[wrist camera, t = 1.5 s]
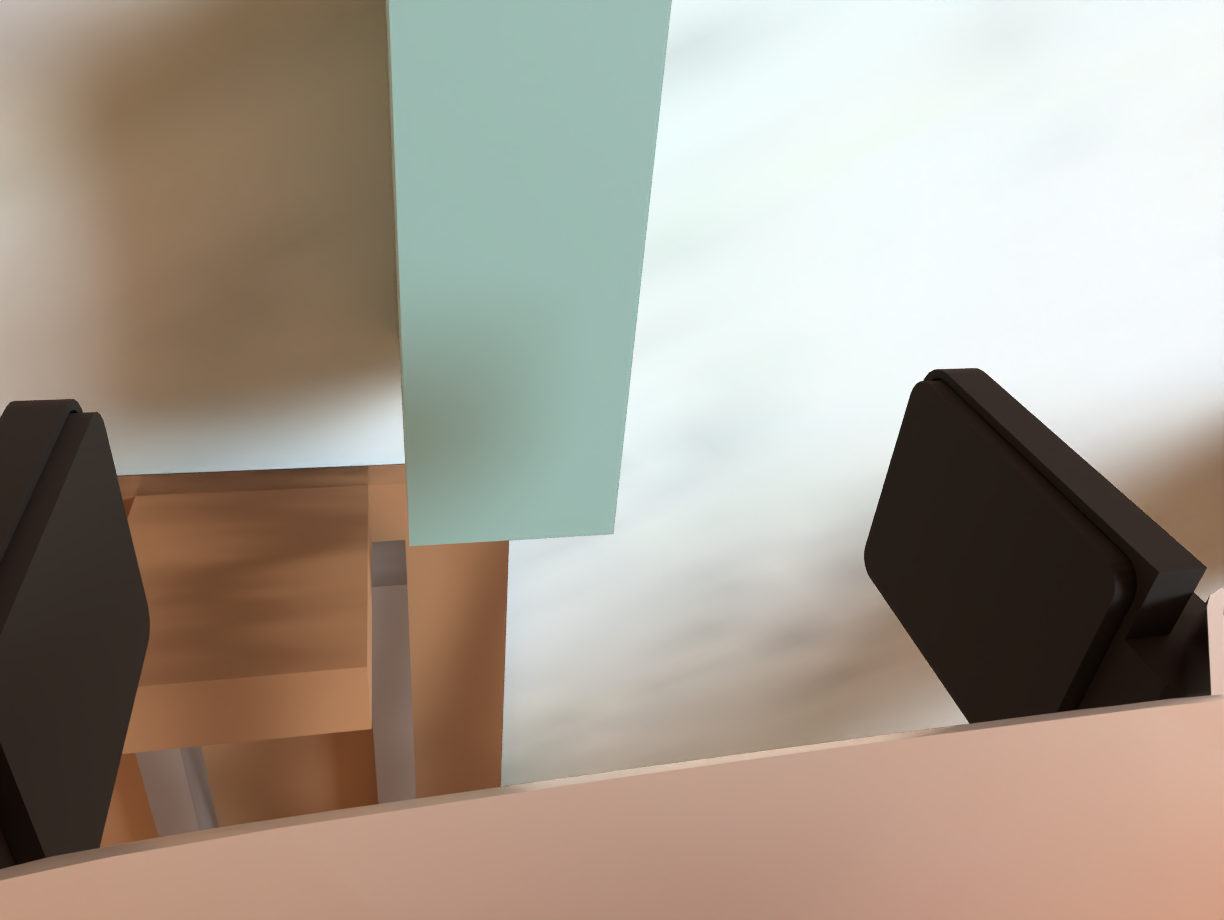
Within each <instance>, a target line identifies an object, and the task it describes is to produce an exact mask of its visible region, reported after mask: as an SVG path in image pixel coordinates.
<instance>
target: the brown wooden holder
mask: <svg viewBox="0 0 1224 920" xmlns="http://www.w3.org/2000/svg"><path fill="white" fill-rule="evenodd" d="M117 478H118V483H119V487H120V491H121V495H122V499H123V503H124V507H125V512H126V516H127V520H128V524H129V528H130V532H131V537H132V541H133V545H134V549H135V553H136V557H137V562H138V566H139V570H140V574H141V578H142V582H143V587H144V591H145V595H146V599H147V603H148V608H149V615H150V635H149V642H148V647H147V651H146V655H145V659H144V663H143V668H142V672H141V676H140V680H139V684H138V689H137V693H136V697H135V701H134V705H133V710H132V714H131V718H130V722H129V726H128V731H127V735H126V739H125V743H124V747H123V752H122V756H121V760H120V764H119V769H118V773H117V777H116V781H115V785H114V790H113V794H112V798H111V802H110V806H109V811H108V815H107V819H106V823H105V827H104V832H103V836H102V840H101V844H100V848H102V847H108V846H113V845H119V844H124V843H130V842H135V841H141V840H147V839H152V838H158V837H164V836H170V835H176V834H182V833H188V832H194V831H200V830H206V829H212V828H219V827H225V826H232V825H239V824H246V823H252V822H259V821H266V820H272V819H279V818H286V817H292V816H299V815H306V814H313V813H319V812H326V811H333V810H339V809H347V808H354V807H361V806H368V805H375V804H382V803H389V802H397V801H404V800H411V799H418V798H425V797H432V796H439V795H446V794H454V793H461V792H468V791H475V790H482V789H489V788H496V787H501V758H502V729H503V699H504V670H505V641H506V612H507V583H508V554H509V540H506V541H490V542H473V543H456V544H439V545H423V546H409V527H408V508H407V488H406V469H405V464H399V465H375V466H351V467H327V468H302V469H278V470H254V471H230V472H206V473H182V474H158V475H134V476H117Z"/></svg>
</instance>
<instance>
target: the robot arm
mask: <svg viewBox="0 0 1224 920" xmlns="http://www.w3.org/2000/svg"><path fill="white" fill-rule="evenodd" d="M864 561H865V567H866V570H867V573H868V575H869V577H870V578H871V580H872V581H873V583H874V584H875V586H876V587H877V589H878V590H879V592H880V593H881V594H882V596H883V597H884V599H885V600H886V602H887V603H888V605H889V606H890V608H891V609H892V611H893V612H894V613H895V615H896V616H897V618H898V619H899V621H900V622H901V624H902V625H903V627H904V628H905V630H906V631H907V632H908V634H909V635H910V637H911V638H912V640H913V641H914V643H915V644H916V646H917V647H918V649H919V650H920V652H921V653H922V654H923V656H924V657H925V659H926V660H927V662H928V663H929V665H930V666H931V668H932V669H933V671H934V672H935V673H936V675H937V676H938V678H939V679H940V681H941V682H942V684H943V685H944V687H945V688H946V690H947V691H948V692H949V694H950V695H951V697H952V698H953V700H954V701H955V703H956V704H957V706H958V707H959V709H960V710H961V712H962V713H963V714H964V716H965V717H966V719H967V720H968V722H969V723H970V724H964V725H956V726H949V727H941V728H933V729H925V730H918V731H910V732H902V733H894V734H886V735H879V736H871V737H864V738H856V739H849V740H841V741H834V742H826V743H819V744H811V745H804V746H796V747H789V748H781V749H774V750H766V751H759V752H751V753H744V754H736V755H729V756H722V757H714V758H707V759H699V760H692V761H685V762H677V763H670V764H663V765H655V766H648V767H640V768H633V769H626V770H618V771H611V772H604V773H596V774H589V775H582V776H575V777H568V778H561V779H553V780H546V781H539V782H532V783H525V784H518V785H511V786H504V787H496V788H489V789H482V790H475V791H468V792H461V793H454V794H446V795H439V796H432V797H425V798H418V799H411V800H404V801H397V802H389V803H382V804H375V805H368V806H361V807H354V808H347V809H339V810H333V811H326V812H319V813H313V814H306V815H299V816H292V817H286V818H279V819H272V820H266V821H259V822H252V823H246V824H239V825H232V826H225V827H219V828H212V829H206V830H200V831H194V832H188V833H182V834H176V835H170V836H164V837H158V838H152V839H147V840H141V841H135V842H130V843H124V844H119V845H113V846H108V847H102V848H100V844H101V840H102V836H103V832H104V827H105V823H106V819H107V815H108V811H109V806H110V802H111V798H112V794H113V790H114V785H115V781H116V777H117V773H118V769H119V764H120V760H121V756H122V752H123V747H124V743H125V739H126V735H127V731H128V726H129V722H130V718H131V714H132V710H133V705H134V701H135V697H136V693H137V689H138V684H139V680H140V676H141V672H142V668H143V663H144V659H145V655H146V651H147V647H148V642H149V635H150V615H149V608H148V603H147V599H146V595H145V591H144V587H143V582H142V578H141V574H140V570H139V566H138V562H137V557H136V553H135V549H134V545H133V541H132V537H131V532H130V528H129V524H128V520H127V516H126V512H125V507H124V503H123V499H122V495H121V491H120V487H119V483H118V478H117V474H116V470H115V466H114V462H113V458H112V453H111V449H110V445H109V441H108V437H107V433H106V428H105V425H104V422H103V419H102V417H101V415H100V414H99V413H98V412H89V413H83V411H82V409H81V407H80V405H79V403H78V402H77V401H76V400H75V399H63V400H33V401H13V402H10V403H9V405H8V406H7V407H6V409H5V410H4V412H3V414H2V416H1V417H0V920H1224V588H1220V589H1218V590H1217V591H1216V592H1214V593H1213V594H1211V595H1210V596H1209V598H1208V600H1207V602H1206V603H1205V602H1203V601H1202V600H1201V599H1200V598H1199V597H1198V596H1197V595H1196V594H1195V593H1194V590H1195V588H1196V587H1197V585H1198V583H1199V581H1200V579H1201V578H1202V576H1203V574H1204V572H1205V570H1206V569H1207V567H1206V566H1204V565H1203V564H1202V563H1201V562H1200V561H1199V560H1198V559H1196V558H1195V557H1194V556H1193V555H1192V554H1191V553H1190V552H1189V551H1187V550H1186V549H1185V548H1184V547H1183V546H1182V545H1181V544H1179V543H1178V542H1177V541H1176V540H1175V539H1174V538H1173V537H1171V536H1170V535H1169V534H1168V533H1167V532H1166V531H1165V530H1164V529H1162V528H1161V527H1160V526H1159V525H1158V524H1157V523H1156V522H1154V521H1153V520H1152V519H1151V518H1150V517H1149V516H1148V515H1146V514H1145V513H1144V512H1143V511H1142V510H1141V509H1140V508H1138V507H1137V506H1136V505H1135V504H1134V503H1133V502H1132V501H1131V500H1129V499H1128V498H1127V497H1126V496H1125V495H1124V494H1123V493H1121V492H1120V491H1119V490H1118V489H1117V488H1116V487H1115V486H1113V485H1112V484H1111V483H1110V482H1109V481H1108V480H1107V479H1105V478H1104V477H1103V476H1102V475H1101V474H1100V473H1099V472H1098V471H1096V470H1095V469H1094V468H1093V467H1092V466H1091V465H1090V464H1088V463H1087V462H1086V461H1085V460H1084V459H1083V458H1082V457H1080V456H1079V455H1078V454H1077V453H1076V452H1075V451H1074V450H1073V449H1071V448H1070V447H1069V446H1068V445H1067V444H1066V443H1065V442H1063V441H1062V440H1061V439H1060V438H1059V437H1058V436H1057V435H1055V434H1054V433H1053V432H1052V431H1051V430H1050V429H1049V428H1047V427H1046V426H1045V425H1044V424H1043V423H1042V422H1041V421H1040V420H1038V419H1037V418H1036V417H1035V416H1034V415H1033V414H1032V413H1030V412H1029V411H1028V410H1027V409H1026V408H1025V407H1024V406H1022V405H1021V404H1020V403H1019V402H1018V401H1017V400H1016V399H1014V398H1013V397H1012V396H1011V395H1010V394H1009V393H1008V392H1007V391H1005V390H1004V389H1003V388H1002V387H1001V386H1000V385H999V384H997V383H996V382H995V381H994V380H993V379H992V378H991V377H989V376H988V375H987V374H986V373H985V372H984V371H982V370H980V369H978V368H965V369H936V370H933V371H931V372H929V373H928V375H927V376H926V377H925V378H924V381H921V382H919V383H917V384H916V385H915V386H914V388H913V390H912V392H911V394H910V398H909V401H908V405H907V408H906V411H905V415H904V418H903V421H902V425H901V428H900V431H899V435H898V438H897V442H896V445H895V448H894V452H893V455H892V458H891V462H890V465H889V468H888V472H887V475H886V478H885V482H884V485H883V489H882V492H881V495H880V499H879V502H878V505H877V509H876V512H875V515H874V519H873V522H872V526H871V529H870V532H869V536H868V539H867V542H866V546H865V551H864Z"/></svg>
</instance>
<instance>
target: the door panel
mask: <svg viewBox="0 0 1224 920" xmlns="http://www.w3.org/2000/svg"><path fill="white" fill-rule="evenodd" d="M671 2H672V0H386V26H387V51H388V76H389V102H390V127H391V152H392V177H393V203H394V228H395V253H396V279H397V304H398V329H399V351H400V371H401V390H402V410H403V429H404V449H405V469H406V488H407V508H408V527H409V546H423V545H439V544H456V543H473V542H490V541H506V540H523V539H540V538H556V537H573V536H590V535H606V534H613V532H614V523H615V514H616V505H617V496H618V487H619V478H620V468H621V459H622V450H623V441H624V432H625V423H626V413H627V404H628V395H629V386H630V377H631V368H632V359H633V349H634V340H635V331H636V322H637V313H638V304H639V294H640V285H641V276H642V267H643V258H644V249H645V240H646V230H647V221H648V212H649V203H650V194H651V185H652V175H653V166H654V157H655V148H656V139H657V130H658V121H659V111H660V102H661V93H662V84H663V75H664V66H665V57H666V47H667V38H668V29H669V20H670V11H671Z"/></svg>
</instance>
